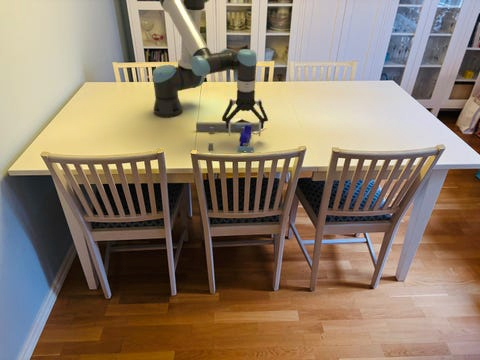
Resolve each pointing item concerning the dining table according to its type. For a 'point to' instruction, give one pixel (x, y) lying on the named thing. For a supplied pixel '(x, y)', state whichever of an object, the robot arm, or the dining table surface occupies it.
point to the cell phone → (246, 122)
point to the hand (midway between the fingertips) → (244, 134)
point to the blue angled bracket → (245, 135)
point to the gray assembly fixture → (221, 127)
